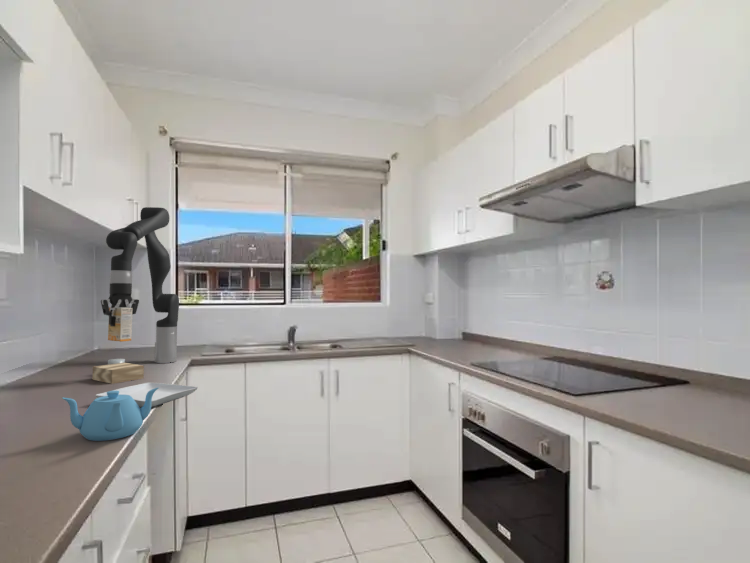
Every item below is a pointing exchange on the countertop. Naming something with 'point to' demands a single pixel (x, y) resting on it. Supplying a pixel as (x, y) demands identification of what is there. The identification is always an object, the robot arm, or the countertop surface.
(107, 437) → the teapot
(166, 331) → the robot arm
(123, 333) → the supplement box
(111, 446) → the countertop surface
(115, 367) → the plate
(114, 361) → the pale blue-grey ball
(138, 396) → the salad plate
